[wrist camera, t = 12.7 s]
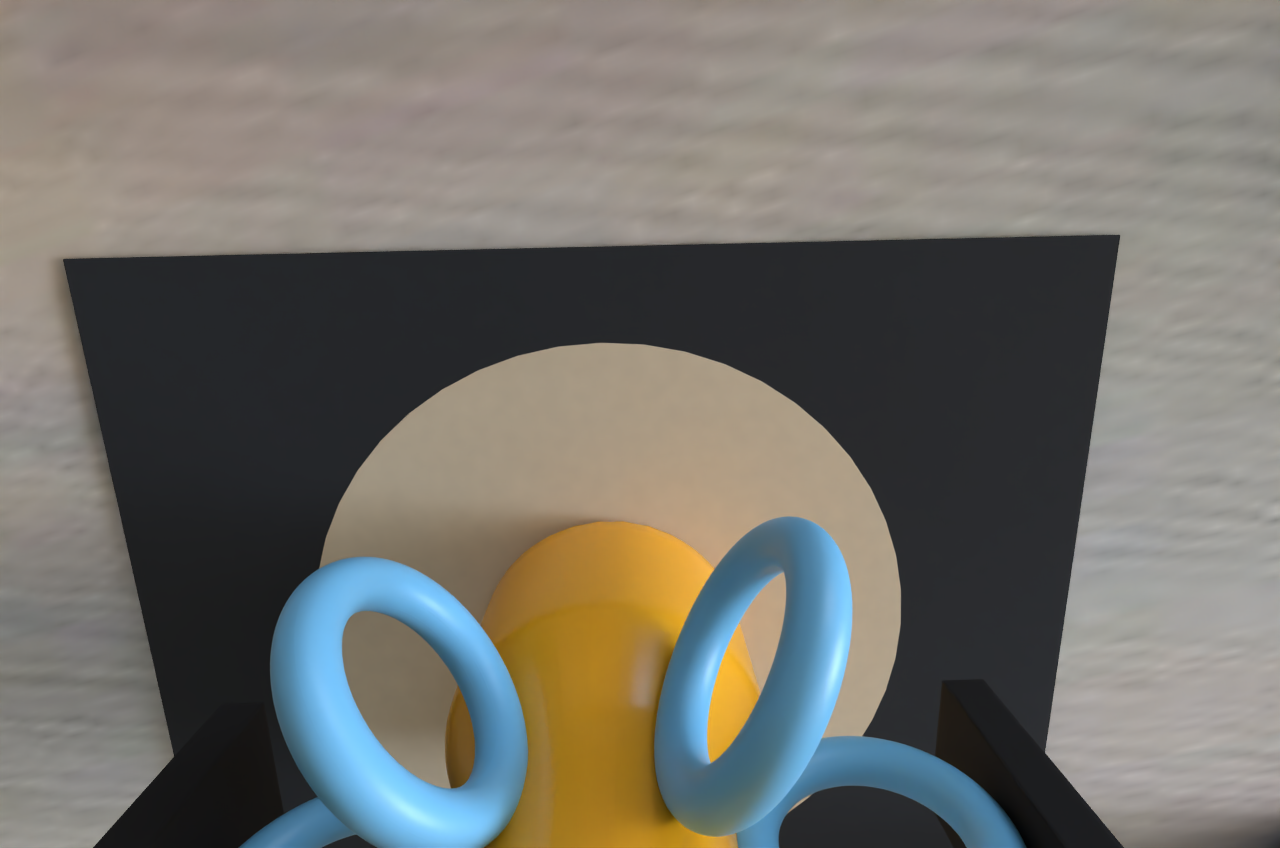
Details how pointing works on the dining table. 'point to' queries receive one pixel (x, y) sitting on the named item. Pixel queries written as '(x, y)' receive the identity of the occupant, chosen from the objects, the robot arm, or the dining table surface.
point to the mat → (607, 455)
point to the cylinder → (599, 702)
